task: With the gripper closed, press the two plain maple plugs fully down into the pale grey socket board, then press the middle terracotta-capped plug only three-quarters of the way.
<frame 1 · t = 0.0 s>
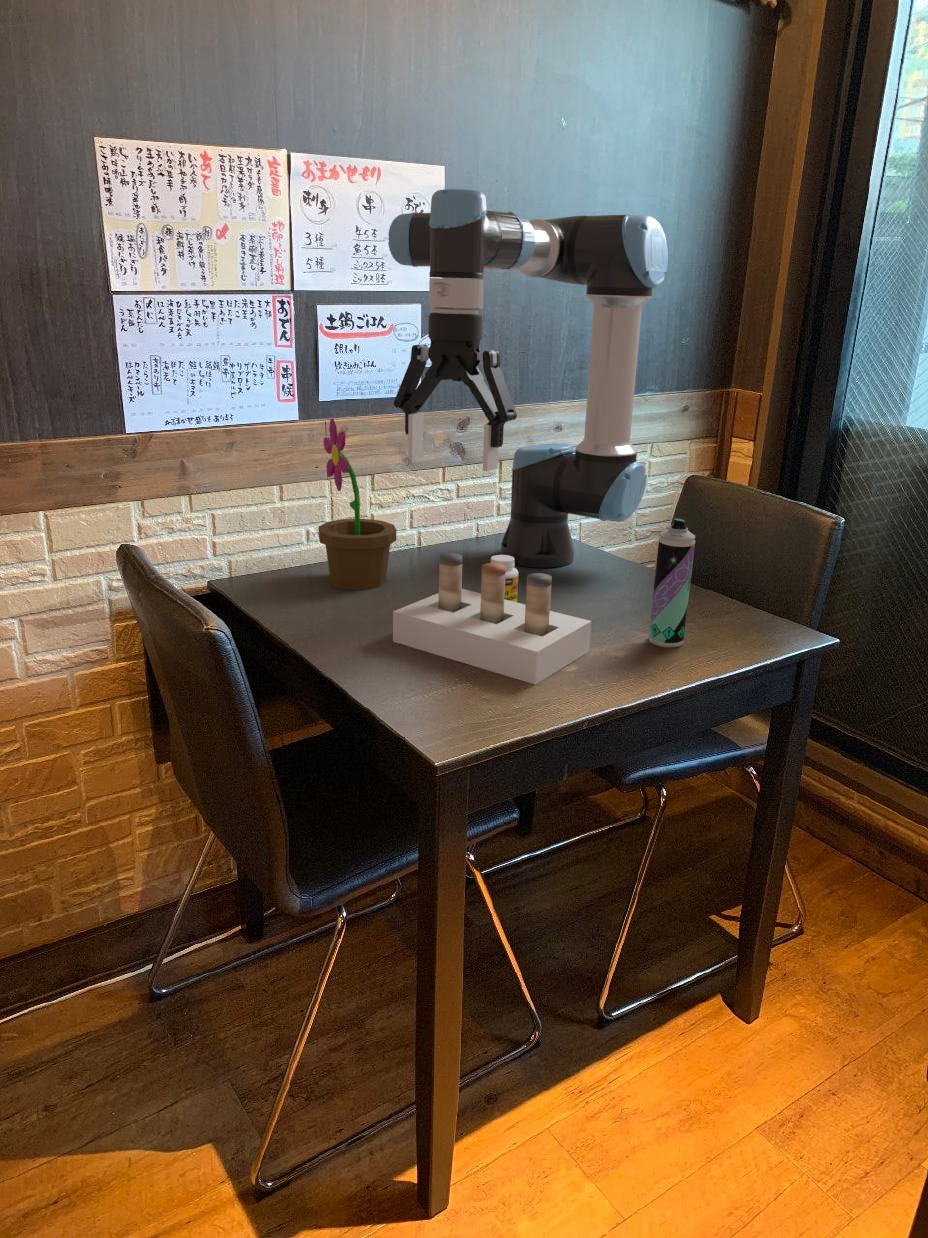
hand: (451, 463, 137), 28 cm above the table, fingers open, 13 cm apart
spray can: (665, 642, 149), on the table
socket board: (490, 646, 145), on the table
plug b: (492, 594, 142), point 9 cm above the table, slide at 0.0 cm
plug a: (450, 584, 146), point 9 cm above the table, slide at 0.0 cm
supplement bottle: (499, 616, 158), on the table
plug c: (537, 605, 137), point 9 cm above the table, slide at 0.0 cm
flowerpot: (358, 582, 174), on the table
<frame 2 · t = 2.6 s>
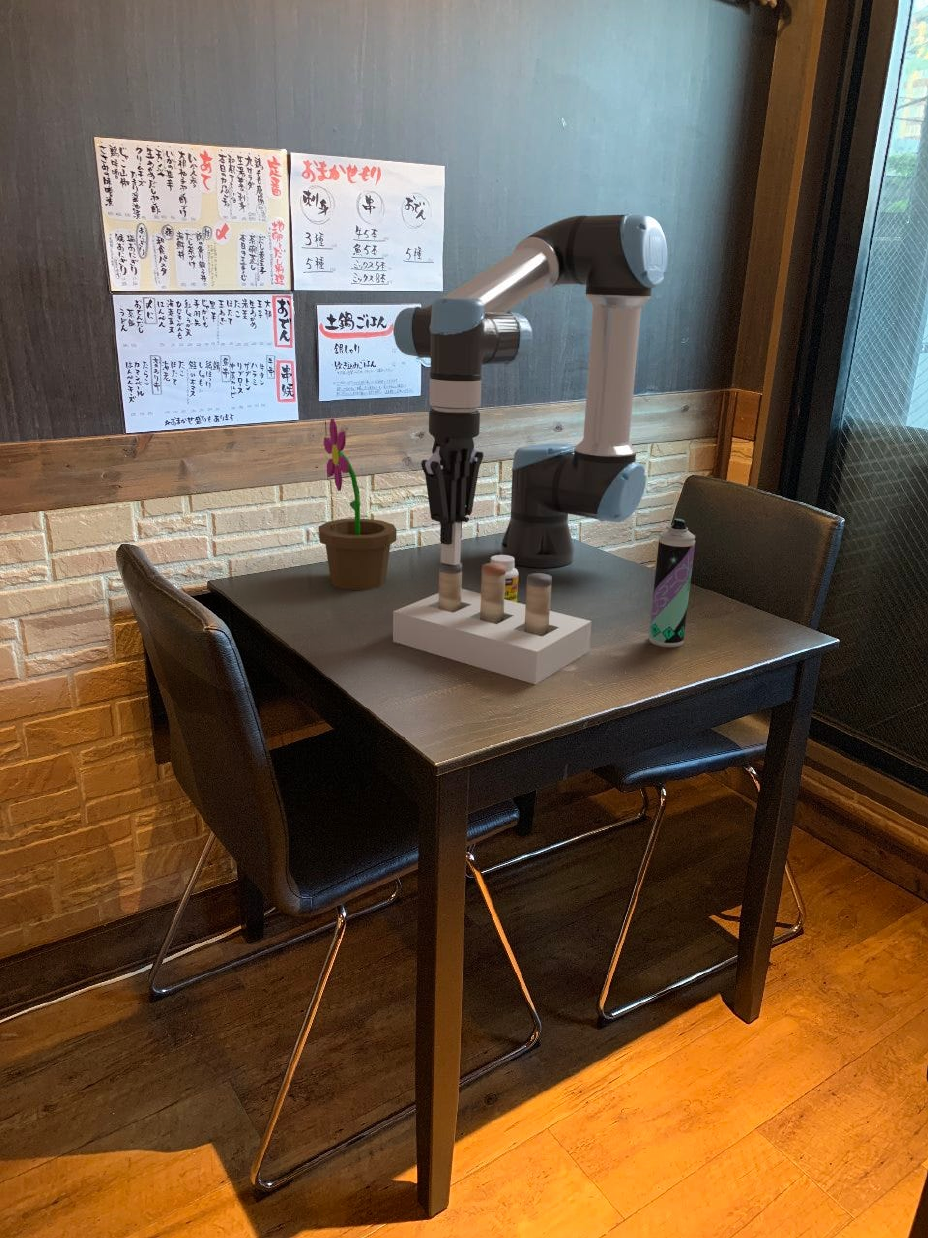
hand: (450, 562, 145), 12 cm above the table, fingers closed
plug a: (450, 591, 146), point 7 cm above the table, slide at 1.2 cm, touching gripper
everything else where it was.
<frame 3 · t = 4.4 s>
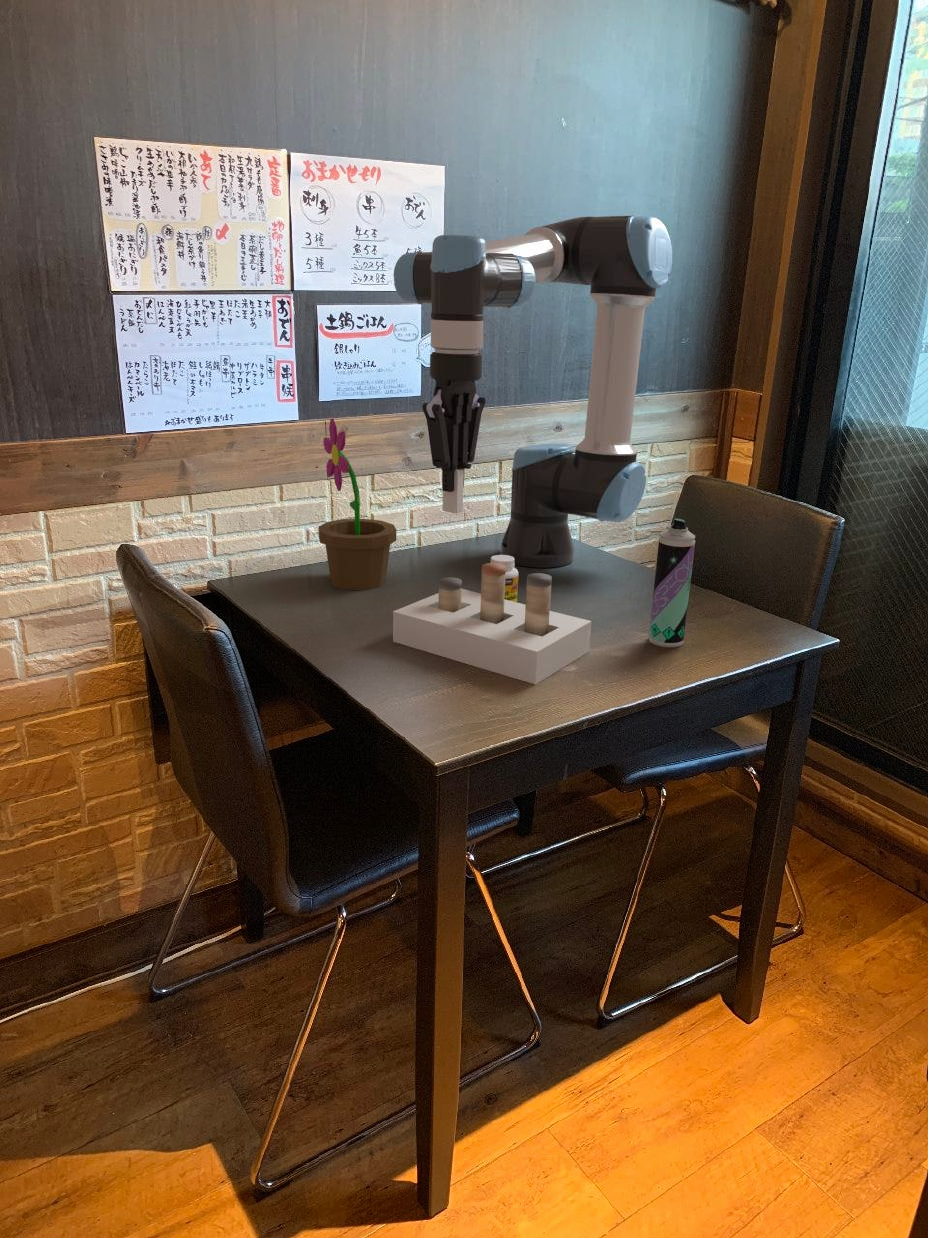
hand: (452, 511, 142), 20 cm above the table, fingers closed
plug a: (449, 607, 147), point 5 cm above the table, slide at 3.9 cm
everything else where it was.
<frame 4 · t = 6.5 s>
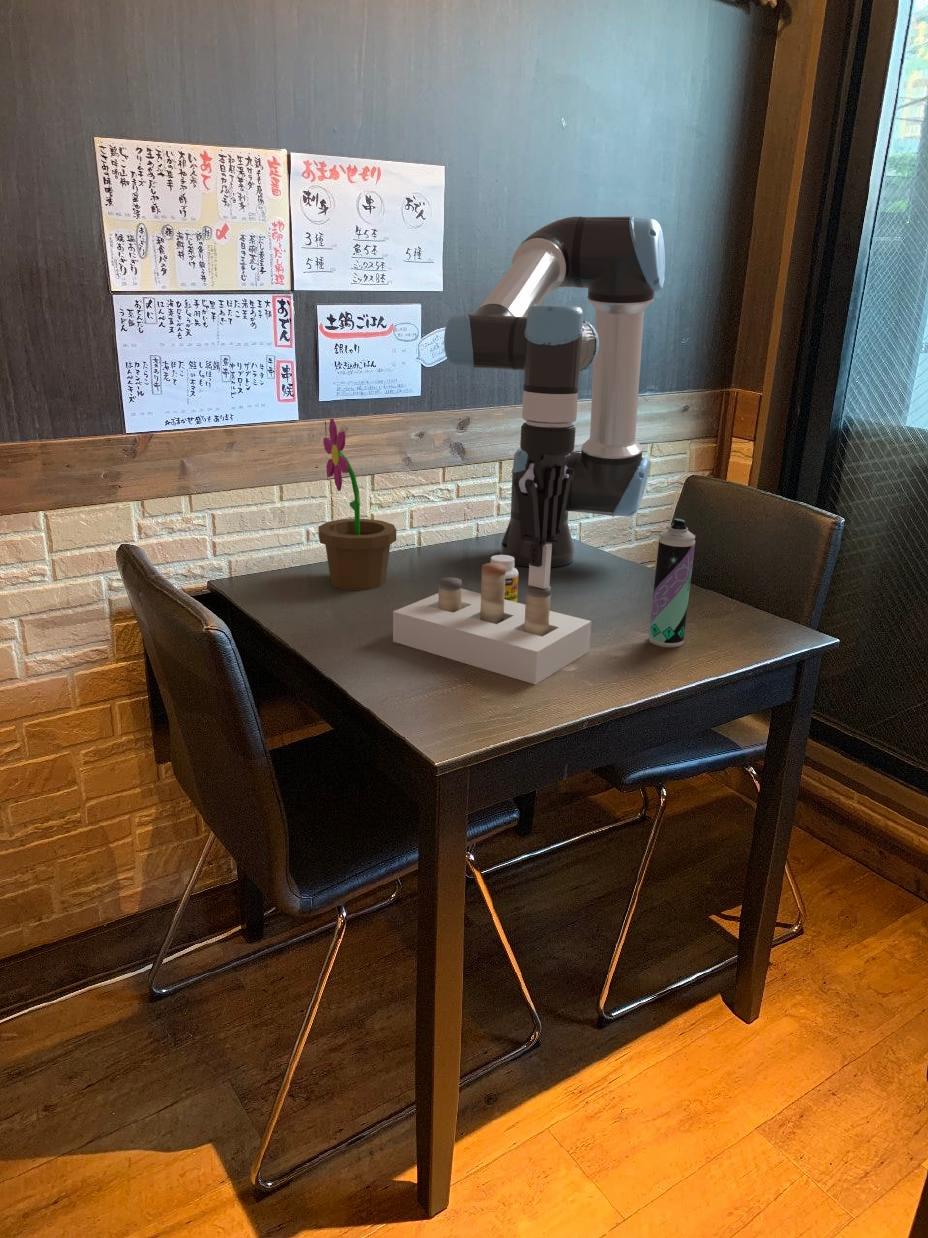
hand: (538, 585, 136), 12 cm above the table, fingers closed
plug c: (537, 615, 138), point 7 cm above the table, slide at 1.6 cm, touching gripper
everything else where it was.
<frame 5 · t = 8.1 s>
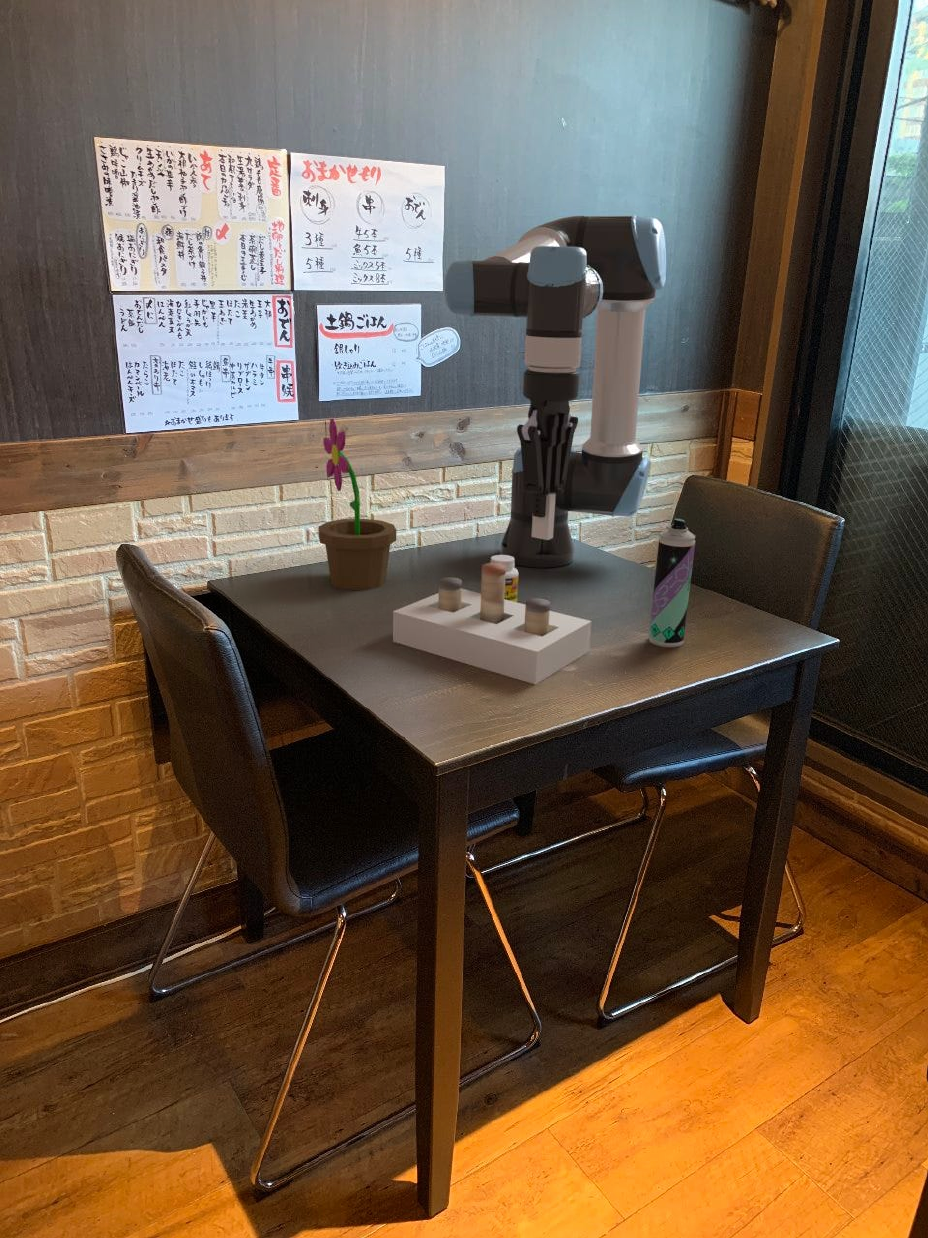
hand: (542, 537, 134), 19 cm above the table, fingers closed
plug c: (536, 630, 139), point 5 cm above the table, slide at 3.9 cm
everything else where it was.
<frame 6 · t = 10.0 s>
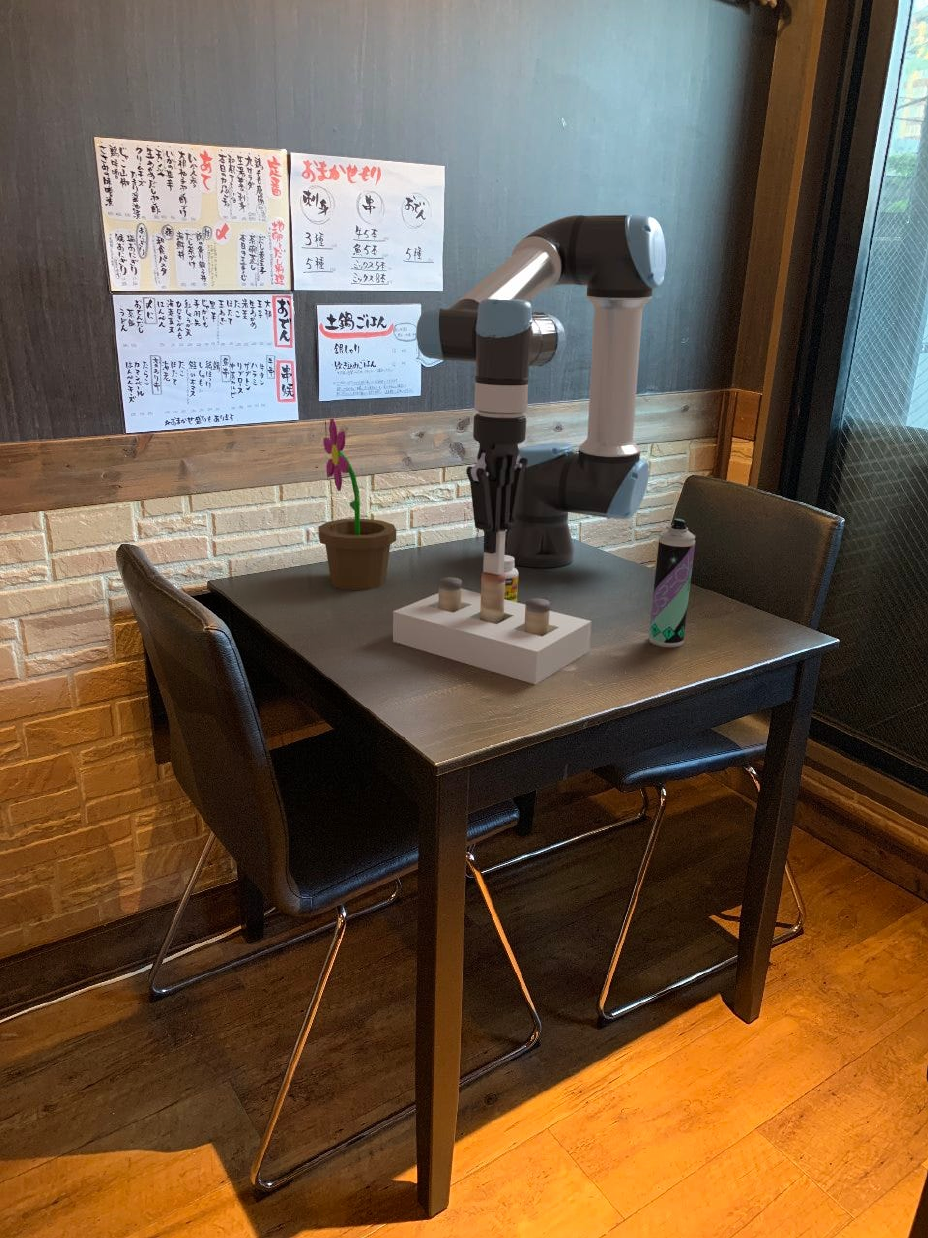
hand: (493, 571, 140), 12 cm above the table, fingers closed
plug b: (492, 601, 142), point 7 cm above the table, slide at 1.1 cm, touching gripper
everything else where it was.
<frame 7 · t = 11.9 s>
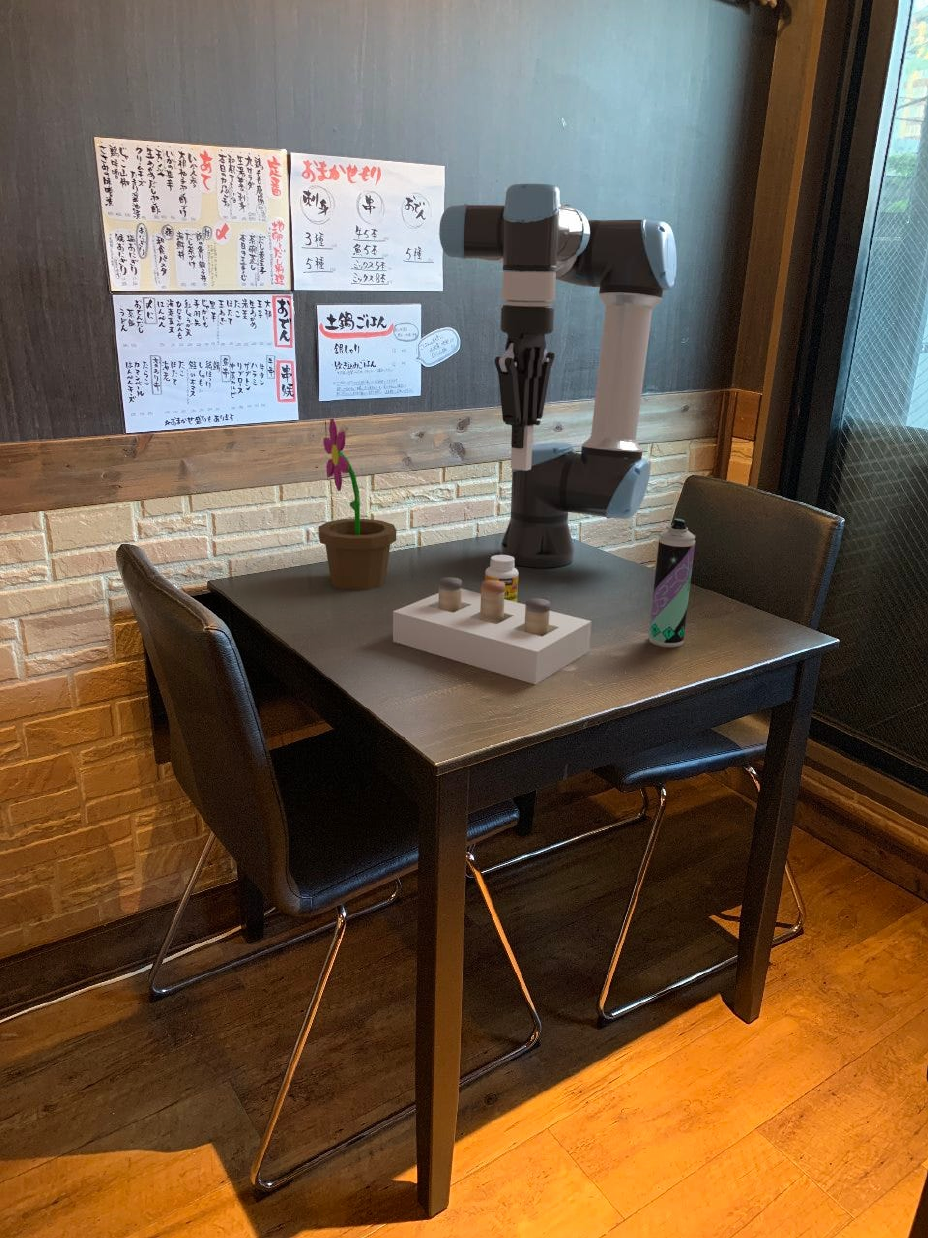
hand: (520, 468, 140), 27 cm above the table, fingers closed
plug b: (491, 611, 143), point 6 cm above the table, slide at 2.8 cm
everything else where it was.
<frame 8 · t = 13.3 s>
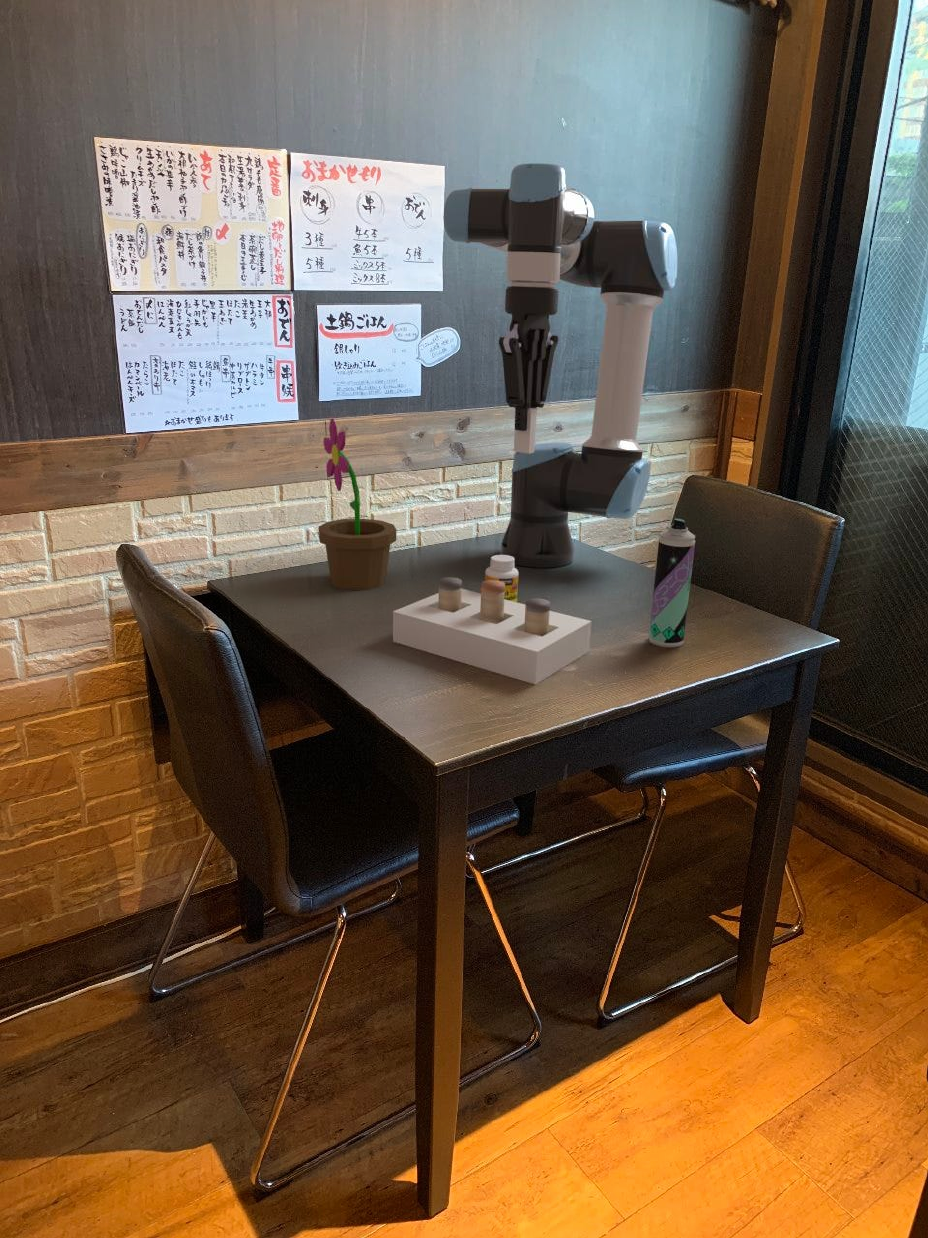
hand: (523, 451, 140), 29 cm above the table, fingers closed
nothing on the table moved.
at the end: plug a slide at 3.9 cm; plug c slide at 3.9 cm; plug b slide at 2.8 cm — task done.
